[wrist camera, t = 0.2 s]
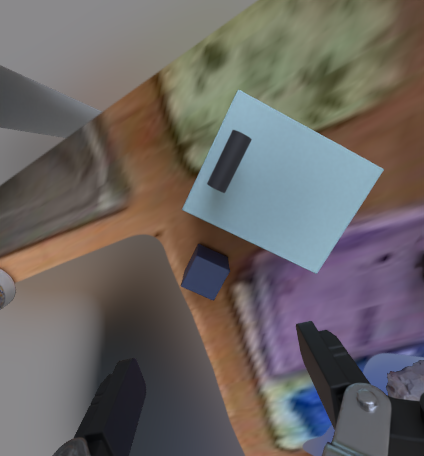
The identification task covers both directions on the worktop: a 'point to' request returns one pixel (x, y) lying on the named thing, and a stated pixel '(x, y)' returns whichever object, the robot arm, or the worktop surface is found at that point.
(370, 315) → the worktop surface
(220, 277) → the block
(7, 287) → the bath foam
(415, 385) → the food item
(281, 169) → the lid
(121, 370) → the robot arm
